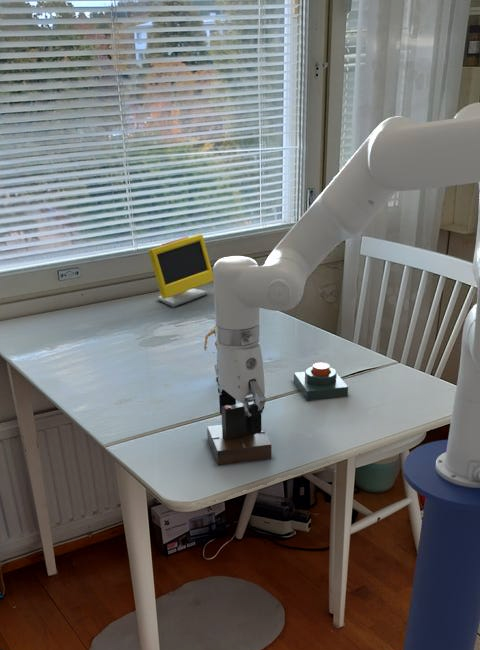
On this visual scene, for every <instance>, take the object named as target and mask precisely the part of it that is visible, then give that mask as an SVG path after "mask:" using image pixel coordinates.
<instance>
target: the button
mask: <svg viewBox="0 0 480 650" xmlns="http://www.w3.org/2000/svg"><path fill="white" fill-rule="evenodd" d="M312 366H313V371H312V373H313V374H314V375H318V376H325V375H328V374H329V371H330V367H331V365H330V364H329V363H326V362H315V363H313V364H312Z"/></svg>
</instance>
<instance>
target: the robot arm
mask: <svg viewBox="0 0 480 650" xmlns="http://www.w3.org/2000/svg"><path fill="white" fill-rule="evenodd" d="M475 183H477V184H478V193H479V194H478V196H479V197H478V218H477V226H476V227H477V228H476V237H475V247H474V254H473V261H472V273H473V277H474V280H475V283H476V287H477V291H476V292H477V293H476V294H477V295H476V303H475V304H474V305H473V306H472V307H471V309H470V310H469V312H468V313H467V315H466V317H465V319H464V323H463V328H462V336H461V346H460V347H461V349H460V358H459V359H460V360H459V368H458V375H457V381H456V388H455V392H454V399H453V406H452V413H451V419H450V425H449V432H448V437H447V440H448V444H447V450H446V452H445V453H443V454H441V455H440V456H439V457H438V458H437V460H436V465H435V468H436V471H437V473H438V474H439V475H440V476H441V477H442V478H444V479H445V480H447V481H449V482H451V483H453V484H456V485H459V486H464V487H470V488H480V102H474V103H470V104H468V105H465V106H464V107H462V108H461V109H460V110H459V111H458V112H457V113H456V114H455V115H454V117H453V118H448V119H441V120H433V121H424V122H416V121H414V120H413V119H410V118H408V117H406V116H402V115H401V116H400V115H397V116H391V117H388V118H386V119H385V120H383V121H382V122H380V123H379V124H378V125H377V126H376V128H374V129H373V131H371V133H370V134H369V135H368V136H367V138H366V139H365V140H364V141H363V143H362V144H361V145H360V146H359V148H358V149H356V151H355V152H354V153H353V155H351V157H350V158H349V159H348V160H347V162H346V163H345V164H344V166H343V167H341V169H340V170H339V172H338V173H337V174H336V175H335V176H334V177H333V178H332V180H331V181H330V182H329V184H328V185H327V186H326V187H325V188H324V189H323V191H322V192H321V193H320V194H319V195H318V196H317V197H316V199H315V200H314V201H313V202H312V204H311V205H310V206H309V207H308V209H307V210H306V211H305V212H304V213H303V214H302V215H301V217H300V218H299V219H298V220H297V221H296V222H295V224H294V225H293V226H292V227H291V228H290V229H289V231H288V232H287V233H286V234H285V235H284V237H283V238H282V239H281V240H280V242H279V243H278V244H277V245H275V247H274V248H273V250H272V251H271V253H270V254H269V255H268V257H267V258H266V260H265V262H264V264H263V265H258V262H256V260H255V259H254V258H251V257H248V256H244V255H232V256H231V255H230V256H224V257H222V258H219V259H218V260H217V261H216V262H214V265H213V267H212V272H213V281H212V282H213V299H214V300H213V303H214V322H215V323H214V324H215V325H214V327H216V336H215V342H216V343H217V344H218V345H217V348H216V364H215V365H214V372H215V375H216V379H215V381H216V382H217V385H218V387H217V392H218V400H219V401H218V402H219V403H218V404H219V414H220V415H221V416H222V407H223V406H226V405H228V406H230V405H234V404H237V401H238V402H239V403H243V406H244V409H245V412H246V415H244V433H245V435H246V436H250V435H253V434H257V433H260V432H261V430H262V428H263V427H262V414H263V413H264V410H265V405H266V401H267V398H266V396H265V395H266V390H265V389H266V388H265V387H266V386H265V372H264V370H265V369H264V361H263V354H262V349H261V345H260V339H261V337H260V333H261V332H260V309H263V310H267V311H274V312H285V311H289V310H292V309H293V308H295V307H296V306H297V305H298V304H299V303H300V301H301V300H302V298H303V295H304V292H305V286H306V281H307V279H308V278H309V277H310V275H311V274H312V273H313V272H314V271H315V270H316V268H318V267H319V265H320V264H321V263H322V262H323V261H324V259H325V258H327V256H328V255H329V254H330V253H331V252H332V251H333V250H334V249H335V248H336V247H338V246H339V245H340V244H342V243H343V242H345V241H348V240H349V239H353V238H355V237H356V236H358V235H359V234H361V233H363V231H364V230H365V229H366V228H367V227H368V225H369V224H370V223H371V222H372V221H373V220H374V219H375V217H376V216H377V215H378V214H379V213H380V212H381V210H382V209H383V208H384V207H385V206H386V205H387V204H388V203H389V202H390V200H392V198H393V197H394V196H395V195H396V194H397V193H398V192H407V191H410V192H411V191H420V190H430V189H437V188H445V187H452V186H453V187H454V186H461V185H468V184H475ZM250 395H252V396H250ZM248 396H249V397H248ZM248 402H253V403H254V404H255V405H253V406H252V407H251V408H250V406H249V404H248ZM261 427H262V428H261Z"/></svg>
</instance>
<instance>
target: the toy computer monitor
mask: <svg viewBox="0 0 480 650" xmlns="http://www.w3.org/2000/svg"><path fill="white" fill-rule="evenodd" d="M148 255H149V258H150V261H151V266H152V268H153V272H154V274H155V278H156V282H157V285H158V289H159V292H160V295H159V296H157V298H158V301H159V302H161V303H164V304H166V305H168V306H170V307H172V308H174V307H177V306H180V305H182V304H185V303H188V302H190V301H193V300H195V299H198V298H201V297H204V296H206V295H207V290H203V289H199V288H198V287H201V286H204V285H206V284H208V283H209V284H210V283H212V282H213V267H212V264H211V262H210V261H211V260H210V257H209V254H208V249H207V247H206V243H205V239H204V235H203V233H200V234H199V233H198V234H196V235H194V236H185V237H180V238H178V239H174V240H171V241H168V242H165V243H161V246H157V247H154V248H151V249H148ZM197 288H198V289H197Z"/></svg>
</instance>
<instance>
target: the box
mask: <svg viewBox="0 0 480 650" xmlns="http://www.w3.org/2000/svg"><path fill="white" fill-rule="evenodd" d="M312 371H313V365H312V366H310V367H308V368H306V370H305V371H296V372H293V384H294V385H295V386H296V388H297V389H298V390H299V392H300V394H301V395H302V396H303V398H304V399H305V401H306V402H311V401H318V400H328V399H337V398H346V397H348V396H349V394H348V393H349V386H348V384H347V383H346V382H345V381H344V380H343V378H342V377H341V376H340V375H339V374H338V372H337V370H336V368H333V367H331V366H330V371H329V374H328V375H325V376H318V375H314V374H313V373H312Z"/></svg>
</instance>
